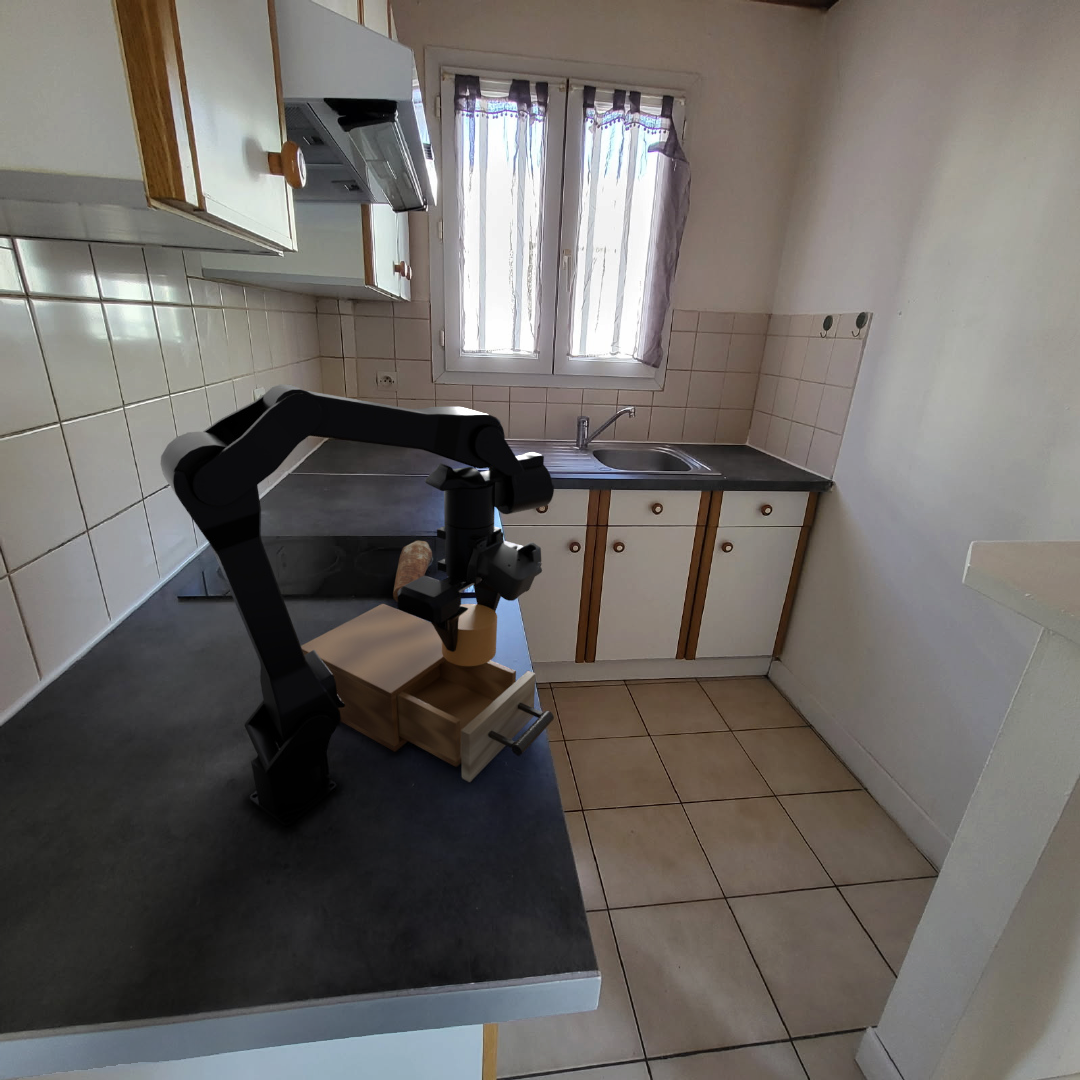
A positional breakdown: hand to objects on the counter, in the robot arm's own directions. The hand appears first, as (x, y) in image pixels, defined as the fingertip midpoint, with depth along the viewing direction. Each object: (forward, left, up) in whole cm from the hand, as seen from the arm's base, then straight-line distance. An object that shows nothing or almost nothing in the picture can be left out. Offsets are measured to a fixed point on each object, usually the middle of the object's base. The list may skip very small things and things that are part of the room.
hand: (469, 637), depth 70 cm
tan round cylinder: (0, 0, -2) cm, 2 cm away
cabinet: (-3, +11, -12) cm, 17 cm away
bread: (+24, +32, -12) cm, 42 cm away
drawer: (-3, -3, -11) cm, 12 cm away
